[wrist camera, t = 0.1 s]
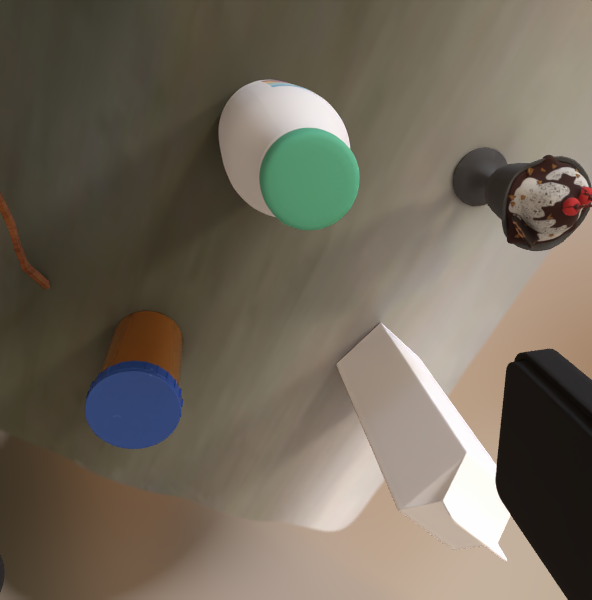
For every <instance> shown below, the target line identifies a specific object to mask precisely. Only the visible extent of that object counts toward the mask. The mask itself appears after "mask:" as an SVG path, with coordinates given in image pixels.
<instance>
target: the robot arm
mask: <svg viewBox="0 0 592 600" xmlns="http://www.w3.org/2000/svg"><path fill="white" fill-rule="evenodd" d="M495 483H496V489H497V492H498V495H499V497H500V499H501V501H502V503H503V504H504V506H505V507H506V509H507V510H508V512H509V513H510V514H511V516H512V517H513V519H514V520H515V522H516V523H517V525H518V526H519V528H520V529H521V531H522V532H523V534H524V535H525V537H526V538H527V540H528V541H529V543H530V544H531V546H532V547H533V549H534V550H535V552H536V553H537V554H538V556H539V558H540V559H541V561H542V562H543V563H544V565H545V566H546V568H547V569H548V571H549V572H550V574H551V575H552V577H553V578H554V580H555V581H556V583H557V584H558V586H559V587H560V588H561V590H562V592H563V593H564V595H565V596H566V597H567V599H568V600H592V380H591V379H590V378H589V377H587V376H586V375H585V374H584V373H582V372H581V371H580V370H579V369H577V368H576V367H575V366H574V365H573V364H572V363H570V362H569V361H568V360H567V359H565V358H564V357H563V356H562V355H561V354H559V353H558V352H557V351H555V350H553V349H544V350H537V351H530V352H523V353H519V354H518V355H517V356H516V358H515V361H514V362H511V363H509V364H508V366H507V370H506V378H505V388H504V398H503V409H502V419H501V428H500V438H499V449H498V458H497V467H496V477H495ZM3 582H4V564H3V561H2V558H1V555H0V592H1V589H2V586H3Z"/></svg>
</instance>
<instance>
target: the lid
mask: <svg viewBox="0 0 592 600" xmlns="http://www.w3.org/2000/svg"><path fill="white" fill-rule="evenodd" d="M86 399H87V400H86V403H85V415H86V419H87V422H88V424H89V426H90V428H91V429H92V430H93V432H94V433H95V434H96V435H97V436H98V437H99V438H101V439H102V440H104V441H105V442H107V443H109V444H111V445H114V446H117V447H121V448H127V449H140V448H146V447H150V446H153V445H155V444H158V443H160V442H161V441H163V440H164V439H166V438H167V437H168V436H169V435H170V434H171V433H172V432H173V431H174V430H175V428H176V426H177V425H178V422H179V420H180V417H181V407H182V405H183V399H182V396H181V389H180V388H179V386H178V384H177V380H175V379H174V378H173V377H172V376H171V375H170V374H169V372H167V371H165V370H164V369H163V368H161V367H159V365H158V366H157V365H154V364H152V363H148V362H147V361H146V362H143V361H135V360H133V361H127V362H120V363H118V364H115V365H113V366H109V368H107V369H105V370H104V371H103V372H100V373H99V375H98V376H97V378H96V379H95V380H94V381H92V384H91V386H90V391H88V393H87V396H86Z"/></svg>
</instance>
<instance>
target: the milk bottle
mask: <svg viewBox="0 0 592 600" xmlns="http://www.w3.org/2000/svg"><path fill="white" fill-rule="evenodd" d="M219 144H220V150H221V155H222V160H223V164H224V167H225V170H226V173H227V175H228V178H229V180H230V182H231V184H232V186H233V187H234V189H235V190H236V192H237V193H238V194H239V195H240V196H241V198H242V199H243V200H244V201H246V202H247V203H248V204H249V205H250V206H252V207H253V208H255V209H256V210H258V211H260V212H262V213H264V214H267V215H270V216H273V217H276V218H277V219H279V220H280V221H281V222H283V223H284V224H286V225H288V226H290V227H293V228H296V229H300V230H318V229H322V228H325V227H328V226H330V225H332V224H334V223H335V222H337V221H338V220H340V219H341V218H342V217H343V216H344V215H345V214H346V213H347V212H348V211H349V209H350V208H351V206H352V205H353V203H354V201H355V199H356V196H357V193H358V188H359V169H358V164H357V161H356V159H355V157H354V155H353V153H352V151H351V150H350V143H349V138H348V134H347V131H346V128H345V126H344V124H343V122H342V120H341V118H340V117H339V115H338V114H337V112H336V111H335V110H334V109H333V107H332V106H331V105H330V104H329V103H328V102H327V101H325V100H324V99H323V98H321V97H320V96H318V95H317V94H315V93H313V92H311V91H309V90H307V89H305V88H302V87H299V86H296V85H293V84H290V83H286V82H282V81H277V80H260V81H256V82H252V83H250V84H247V85H245V86H244V87H242V88H240V89H239V90H238V91H237V92H235V93H234V94H233V95H232V97H231V98H230V99H229V100H228V102H227V103H226V105H225V107H224V109H223V111H222V114H221V117H220V122H219Z"/></svg>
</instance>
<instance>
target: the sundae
mask: <svg viewBox="0 0 592 600" xmlns="http://www.w3.org/2000/svg"><path fill="white" fill-rule="evenodd" d="M453 184H454V189H455V192H456V194H457V196H458V197H459V198H460V199H461V200H462V201H463V202H464V203H467V204H469V205H473V206H477V205H484V204H486V203H487V204H488V206H489V207H490V208H491V210H492V211H493V212H494V213H495V214H496V215H497V216H498V217H499V218H500V219H502V226H503V231H504V234H505V236H506V237H507V242H508V243H511V244H514V245H516V246H517V247H520V248H523V249H526V250H531V251H543V250H548V249H551V248H553V247H555V246H557V245H559V244H560V243H562V242H563V241H564V240H565V239H566V238H567V237H568V236H570V235H571V233H573V232H574V231H575V229H576V228H577V227H578V226H579V225H580V224H581V223H582V221H583V220H584V219H585V216H586V215H587V213H588V211H589V210H590V207H592V205H591V202H592V187H591V183H590V180H589V177H588V175H587V174H586V172H585V170H584V169H583V168H582V167H581V165H580V164H579V163H577V162H576V161H575V160H573V159H570V158H567V157H563V156H559V157H553V156H551V155H546V156H545V157H543V159H540V160H537V161H535V162H532V163H516V164H508V165H507V162H506V160H505V158H504V157H503V155H502V154H501V153H500V152H499V151H497V150H495V149H492V148H479V149H476V150H474V151H472V152H470V153H468V154H467V155H466V156H465V157H464V158H463V159H462V160H461V161H460V162H459V164H458V166H457V168H456V171H455V173H454V180H453Z"/></svg>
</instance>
